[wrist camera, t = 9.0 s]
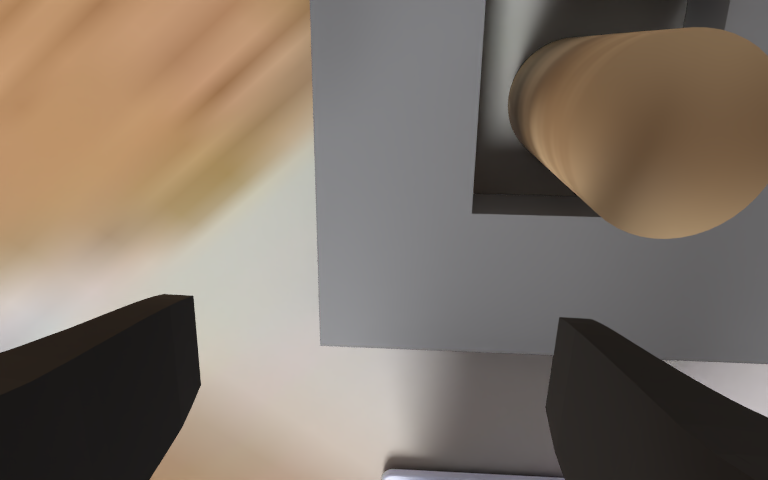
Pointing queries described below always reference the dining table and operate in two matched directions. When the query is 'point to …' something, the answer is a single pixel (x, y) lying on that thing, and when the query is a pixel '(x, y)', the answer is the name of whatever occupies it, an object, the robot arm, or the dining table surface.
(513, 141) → the dining table surface
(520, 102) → the peg
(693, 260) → the docking block
